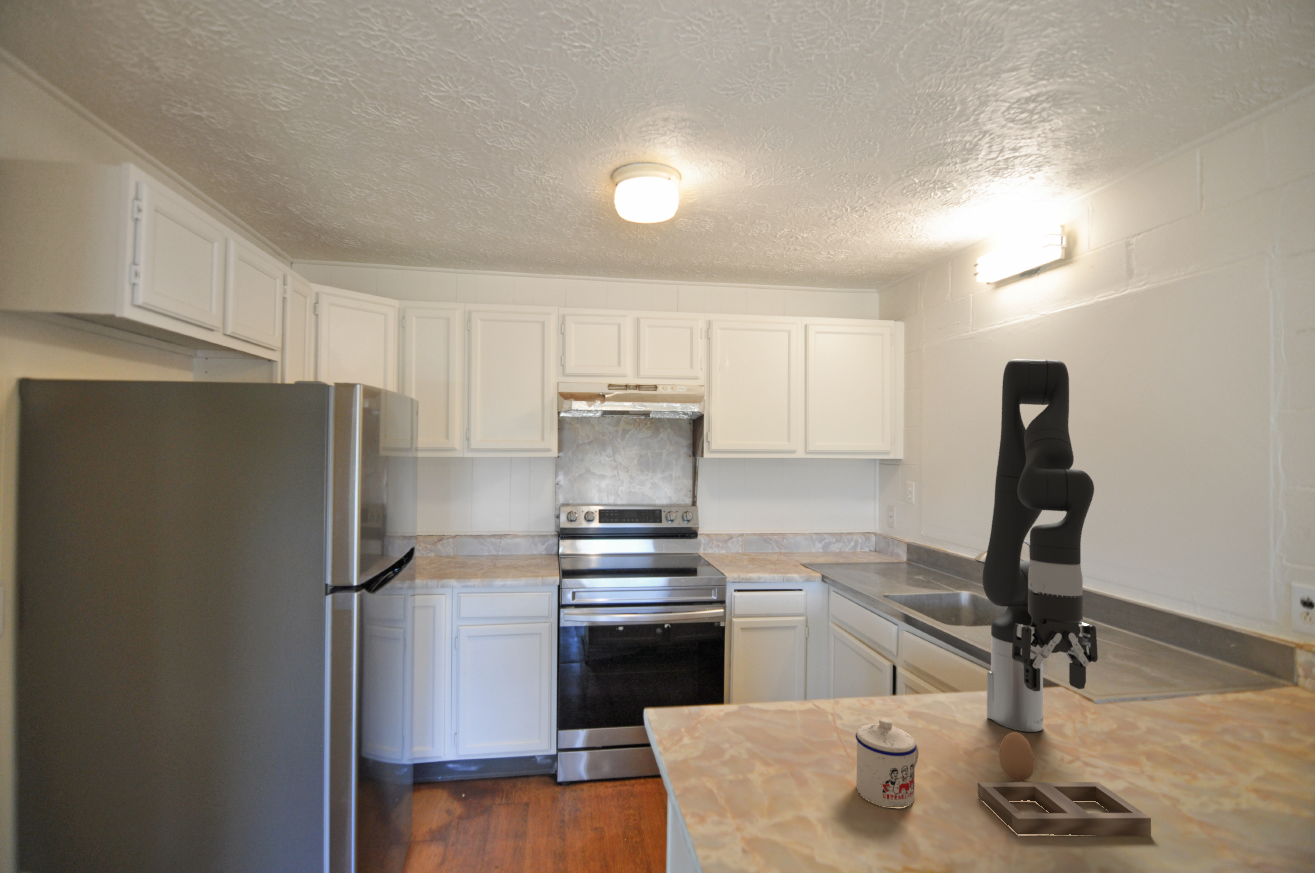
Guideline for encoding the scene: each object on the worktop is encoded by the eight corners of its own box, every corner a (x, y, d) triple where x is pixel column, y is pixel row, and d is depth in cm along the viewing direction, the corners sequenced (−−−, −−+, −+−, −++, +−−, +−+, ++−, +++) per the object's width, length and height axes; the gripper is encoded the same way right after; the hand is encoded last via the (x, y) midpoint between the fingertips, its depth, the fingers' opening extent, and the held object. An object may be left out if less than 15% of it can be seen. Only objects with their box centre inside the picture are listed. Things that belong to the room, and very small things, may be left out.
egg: (1042, 786, 97) (1042, 738, 98) (1017, 790, 96) (1017, 741, 96) (1015, 770, 102) (1015, 724, 103) (991, 774, 101) (991, 727, 101)
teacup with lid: (888, 817, 88) (889, 737, 88) (842, 786, 96) (843, 714, 96) (940, 797, 93) (941, 722, 94) (893, 770, 101) (894, 701, 102)
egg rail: (1017, 836, 84) (1017, 818, 84) (977, 798, 93) (978, 782, 93) (1151, 835, 85) (1150, 817, 85) (1098, 797, 94) (1098, 781, 95)
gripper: (1071, 584, 103) (1071, 678, 102) (1000, 584, 100) (999, 681, 99) (1111, 593, 95) (1112, 695, 94) (1036, 594, 92) (1036, 699, 92)
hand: (1054, 688), depth 97 cm, fingers open, 8 cm apart
